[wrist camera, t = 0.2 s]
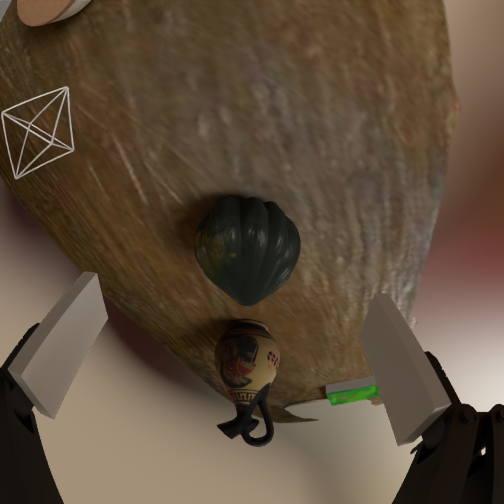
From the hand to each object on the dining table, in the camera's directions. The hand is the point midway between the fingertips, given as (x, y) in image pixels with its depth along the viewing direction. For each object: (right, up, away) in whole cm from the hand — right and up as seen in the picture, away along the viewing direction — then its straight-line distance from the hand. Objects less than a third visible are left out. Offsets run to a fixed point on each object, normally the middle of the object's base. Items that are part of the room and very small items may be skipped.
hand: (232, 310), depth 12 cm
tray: (+48, -58, +97) cm, 123 cm away
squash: (+1, +8, +32) cm, 33 cm away
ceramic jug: (+1, -17, +56) cm, 58 cm away
